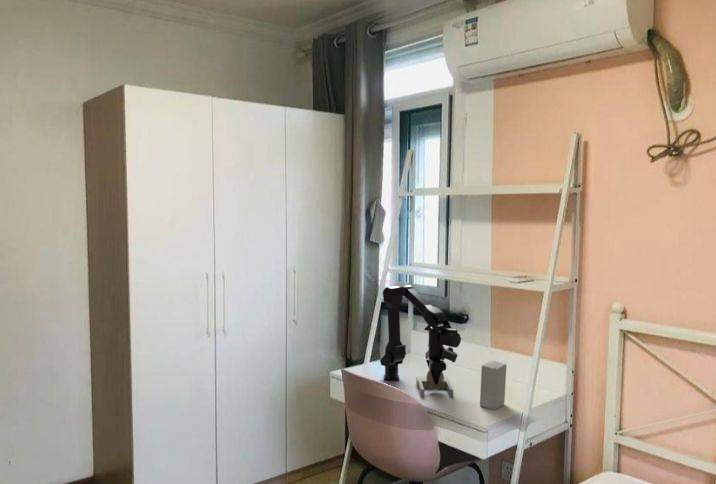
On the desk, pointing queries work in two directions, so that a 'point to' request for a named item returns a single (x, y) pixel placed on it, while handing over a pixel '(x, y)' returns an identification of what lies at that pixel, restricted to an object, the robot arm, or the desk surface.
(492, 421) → the desk surface
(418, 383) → the green u-shaped bracket
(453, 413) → the desk surface
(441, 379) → the brown oval solid
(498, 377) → the skincare box
